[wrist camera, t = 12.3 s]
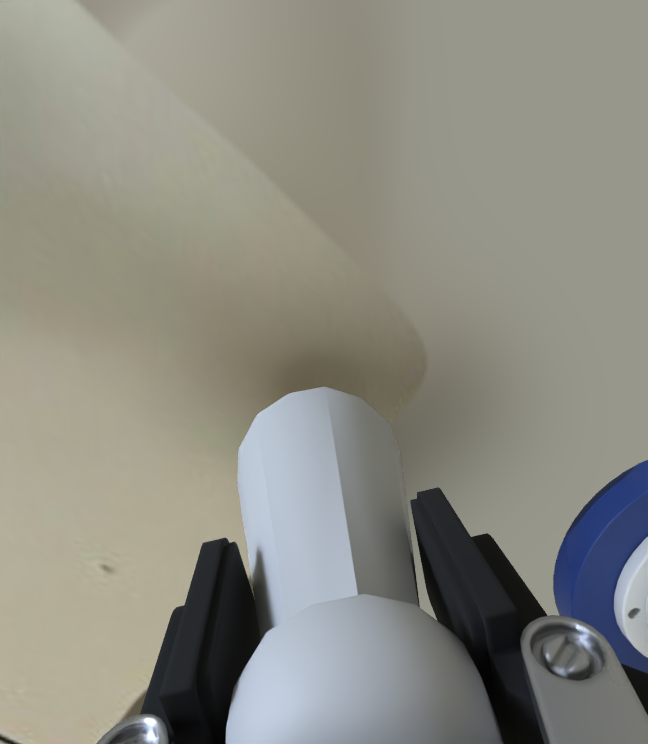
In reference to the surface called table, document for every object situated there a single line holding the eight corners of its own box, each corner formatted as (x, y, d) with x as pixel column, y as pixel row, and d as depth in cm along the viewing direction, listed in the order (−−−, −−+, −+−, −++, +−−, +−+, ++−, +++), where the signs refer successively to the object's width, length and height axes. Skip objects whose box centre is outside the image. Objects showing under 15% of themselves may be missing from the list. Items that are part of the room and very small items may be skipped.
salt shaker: (219, 403, 18) (59, 776, 5) (356, 348, 18) (527, 595, 5) (278, 523, 19) (264, 1028, 7) (404, 473, 19) (625, 896, 7)
